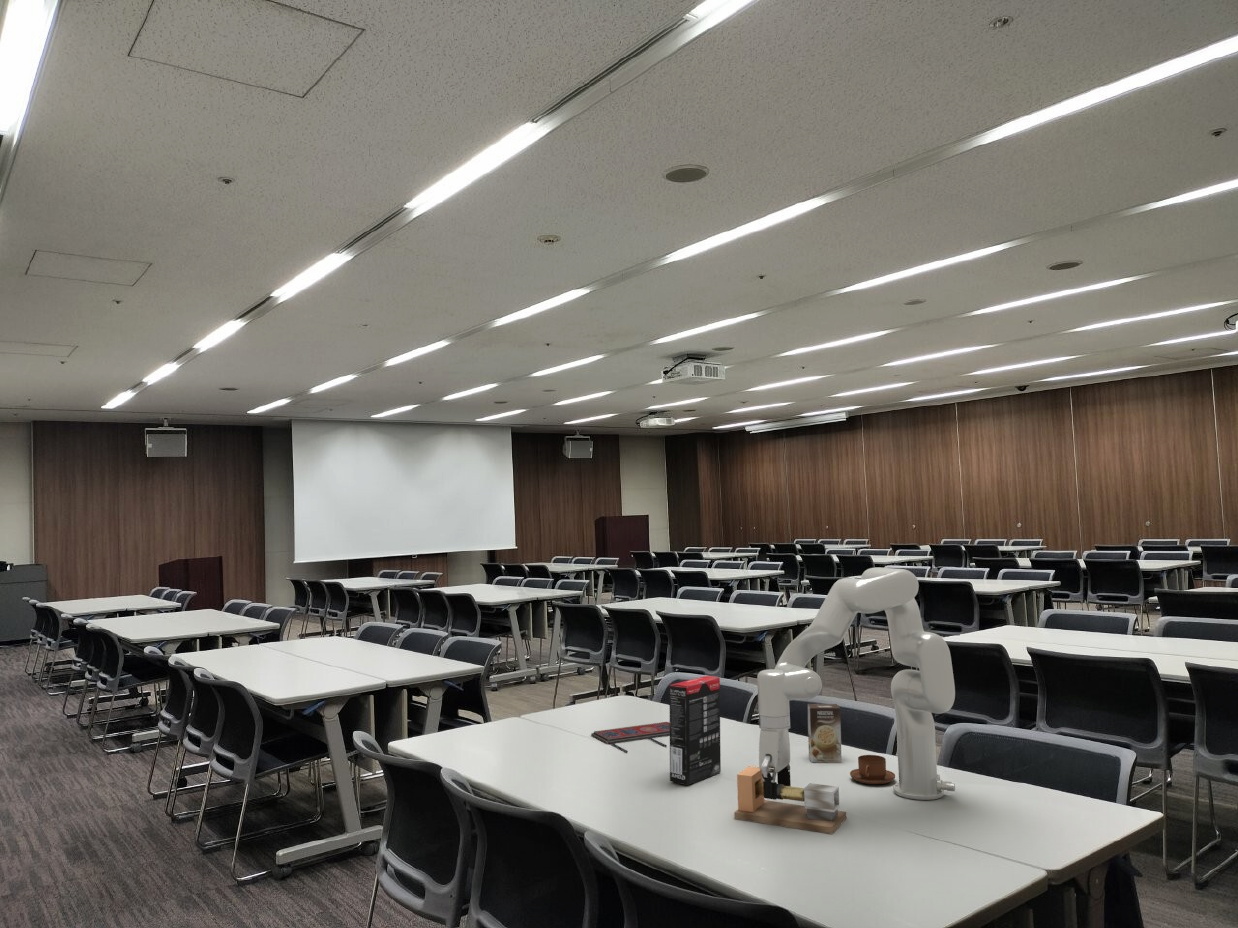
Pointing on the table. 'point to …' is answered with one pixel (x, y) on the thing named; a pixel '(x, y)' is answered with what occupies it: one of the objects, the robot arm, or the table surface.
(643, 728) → the sign
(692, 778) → the graphics card box
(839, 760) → the coffee box
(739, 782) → the socket
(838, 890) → the table surface
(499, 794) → the table surface
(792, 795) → the brass tube
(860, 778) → the cup and saucer
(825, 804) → the rig
